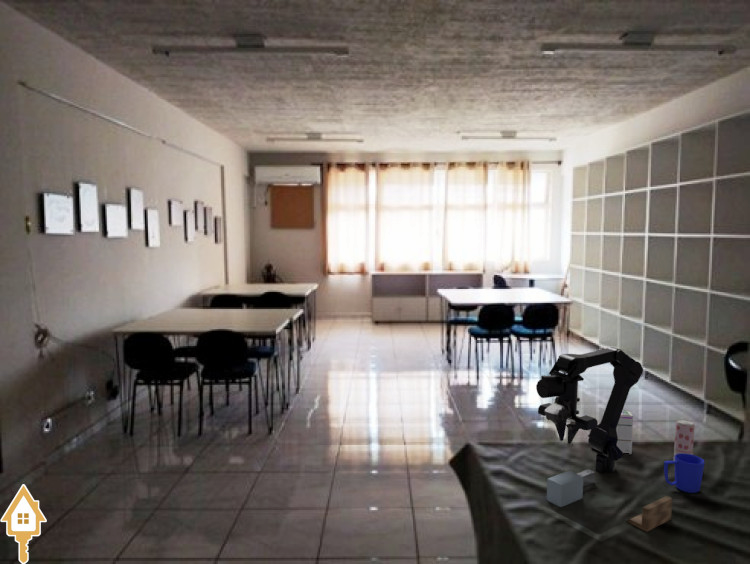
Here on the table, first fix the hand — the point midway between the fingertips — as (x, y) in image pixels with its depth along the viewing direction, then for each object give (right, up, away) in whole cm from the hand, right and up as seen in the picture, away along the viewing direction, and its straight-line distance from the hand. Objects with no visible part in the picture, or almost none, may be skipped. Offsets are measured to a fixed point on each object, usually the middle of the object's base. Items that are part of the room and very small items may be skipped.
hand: (565, 442), depth 177 cm
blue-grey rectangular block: (-5, -14, -13) cm, 20 cm away
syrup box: (+30, -11, +27) cm, 41 cm away
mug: (+35, -14, -3) cm, 38 cm away
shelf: (+10, -15, -13) cm, 22 cm away
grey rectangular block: (+3, -12, -4) cm, 13 cm away
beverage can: (+46, -12, +16) cm, 51 cm away
